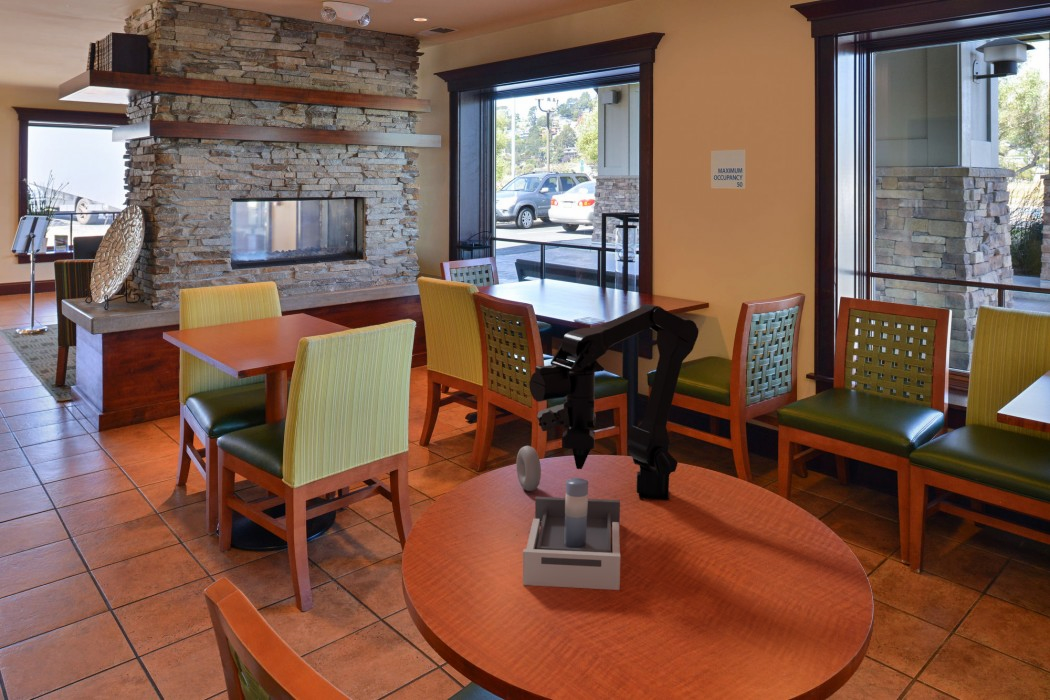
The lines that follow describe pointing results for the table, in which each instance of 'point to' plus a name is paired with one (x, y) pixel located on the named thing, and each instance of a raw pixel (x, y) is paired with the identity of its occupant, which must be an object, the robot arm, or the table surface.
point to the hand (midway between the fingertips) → (579, 468)
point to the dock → (571, 565)
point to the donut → (528, 468)
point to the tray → (596, 529)
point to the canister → (576, 512)
